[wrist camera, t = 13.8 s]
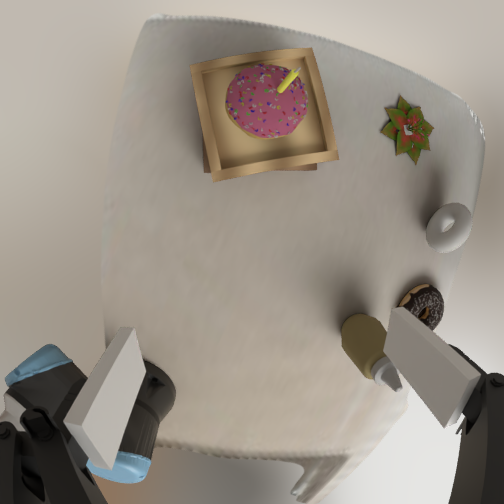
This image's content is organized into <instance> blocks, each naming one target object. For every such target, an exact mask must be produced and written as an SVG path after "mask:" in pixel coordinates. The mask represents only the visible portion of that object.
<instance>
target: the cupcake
mask: <svg viewBox="0 0 504 504" xmlns="http://www.w3.org/2000/svg"><path fill="white" fill-rule="evenodd" d="M248 67H249V68H246V69H243V70H242V71H241V72H239V73H238V74H236V75H235V78H234V79H233V80H232V81H231V83H230V84H229V87H228V88H227V92H226V98H225V109H226V113H227V115H228V117H229V119H230V120H231V121H232V122H233V123H234V124H235V125H236V126H237V127H238V128H239V129H241V130H242V131H243V132H245V133H246V134H247V135H248V136H250V137H252V138H255V139H260V140H267V139H274V138H279V137H284V136H287V135H289V134H291V133H292V132H293V131H294V130H295V129H296V127H297V126H298V125H299V124H300V122H301V121H302V120H303V119H304V117H306V113H307V109H308V98H307V96H308V94H307V91H306V90H305V87H304V85H305V84H304V83H302V80H300V78H299V77H298V74H299V72H298V71H299V70H300V69H301V67H298V68H297V69H293V70H288V69H287V67H281V66H276V65H272V64H269V65H268V64H267V65H264V64H263V63H261V64H259V65H255V66H252V67H251V66H248Z"/></svg>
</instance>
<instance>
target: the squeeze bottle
mask: <svg viewBox="0 0 504 504" xmlns="http://www.w3.org/2000/svg"><path fill="white" fill-rule="evenodd" d="M341 336H342V347H343V349H344V351H345V352H346V354H347V355H348V356H349V357H350V359H351V360H352V361H353V362H354V364H355V365H356V366H357V367H358V369H359V370H360V371H361V373H362V374H363V375H364V376H365V377H366V378H368V379H373V380H374V381H375V383H376V384H378V385H385V384H387V385H388V386H389V387H391V388H392V389H393V390H394V391H395V392H399V391H400V390H401V389H402V384H401V382H400V379H399V376H398V375H399V373H400V371H399V370H398V369H397V368H396V366H395V365H394V364H393V363H392V362H391V360H390V359H389V358H388V357H387V355H386V354H385V353H384V352H383V349H384V345H385V340H386V336H387V332H386V330H385V329H384V327H383V325H382V324H381V322H380V321H378V320H377V319H376V318H374V317H371V316H368V315H365V314H355V315H352V316H350V317H349V318H347V320H346V321H345V322H344V323H343V326H342V328H341Z"/></svg>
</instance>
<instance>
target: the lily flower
mask: <svg viewBox="0 0 504 504" xmlns="http://www.w3.org/2000/svg"><path fill="white" fill-rule="evenodd" d="M420 109H421V108H420V107H417V108H413V109H411V107H410V105H409V104H408V103H407V102H406V101H405V100H404V99H402V97H401V95H400V99H399V103H398V107H397V109H391V108H390V109H387V108H385V110H386V111H387V113H388V114H389V117H390V119H391V120H392V121H391V122H389V123H388V124H387V125H386V126H385V127H384V129H383V131H381V132H380V133H383V134H384V135H387V137H389V138H391V139H393V140H395V141H397V152H396V155H398V154H402V153H405V152H408V154H409V155H410V157H411V158H412V160H413V161H414V162H415V164H417V161H418V158H419V156H420V152H421V149H424V150H430V147H429V140H428V136H429V135H430V134H431V132H432V129H434V128H433V127H432V126H431V125H429V123H428V122H426V121H425V120H424V117H423V114H422V111H421V110H420ZM405 114H406V115H405ZM406 116H407V117H406ZM407 124H409V126H412V127H411V128H410V127H409V126H408V128H407V129H408V131H412V133H413V134H414V135H406V134H405V131H404V125H407ZM410 124H411V125H410ZM419 128H423V129H422V130H421V129H419ZM396 129H398V130H400V131H399V132H398V133H397V132H396V131H395V130H396ZM409 129H411V130H409ZM413 143H414V145H413V149H412V144H413Z"/></svg>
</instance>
